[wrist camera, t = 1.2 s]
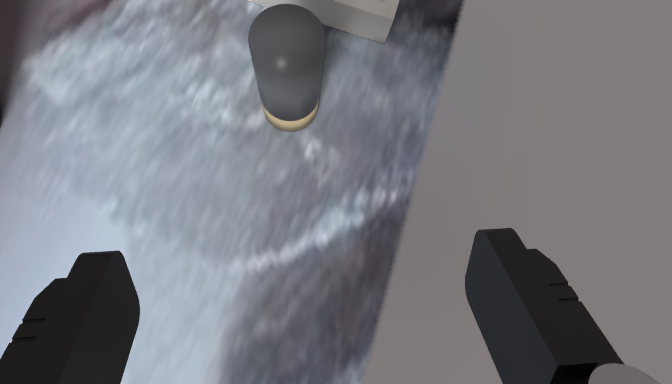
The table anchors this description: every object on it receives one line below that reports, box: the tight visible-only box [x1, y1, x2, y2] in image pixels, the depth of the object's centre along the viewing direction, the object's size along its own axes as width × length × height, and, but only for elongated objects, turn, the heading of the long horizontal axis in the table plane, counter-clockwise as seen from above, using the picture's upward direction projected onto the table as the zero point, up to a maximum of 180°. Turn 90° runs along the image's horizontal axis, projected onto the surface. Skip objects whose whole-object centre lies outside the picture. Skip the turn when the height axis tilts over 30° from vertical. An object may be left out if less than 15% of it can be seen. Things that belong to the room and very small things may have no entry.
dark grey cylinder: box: [248, 4, 326, 132], centre depth 29 cm, size 4×4×10 cm
